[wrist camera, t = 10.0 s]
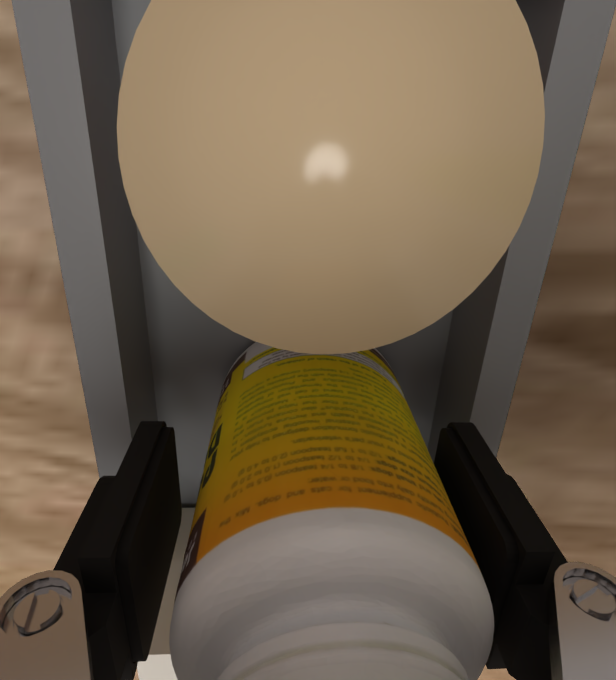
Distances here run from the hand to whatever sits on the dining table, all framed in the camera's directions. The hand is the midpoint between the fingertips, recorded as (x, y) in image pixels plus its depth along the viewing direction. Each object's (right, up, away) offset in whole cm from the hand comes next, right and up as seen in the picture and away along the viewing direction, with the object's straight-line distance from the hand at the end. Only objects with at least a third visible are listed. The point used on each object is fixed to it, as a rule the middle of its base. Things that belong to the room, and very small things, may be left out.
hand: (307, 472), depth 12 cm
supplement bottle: (0, +2, +3) cm, 4 cm away
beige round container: (0, +8, 0) cm, 8 cm away
